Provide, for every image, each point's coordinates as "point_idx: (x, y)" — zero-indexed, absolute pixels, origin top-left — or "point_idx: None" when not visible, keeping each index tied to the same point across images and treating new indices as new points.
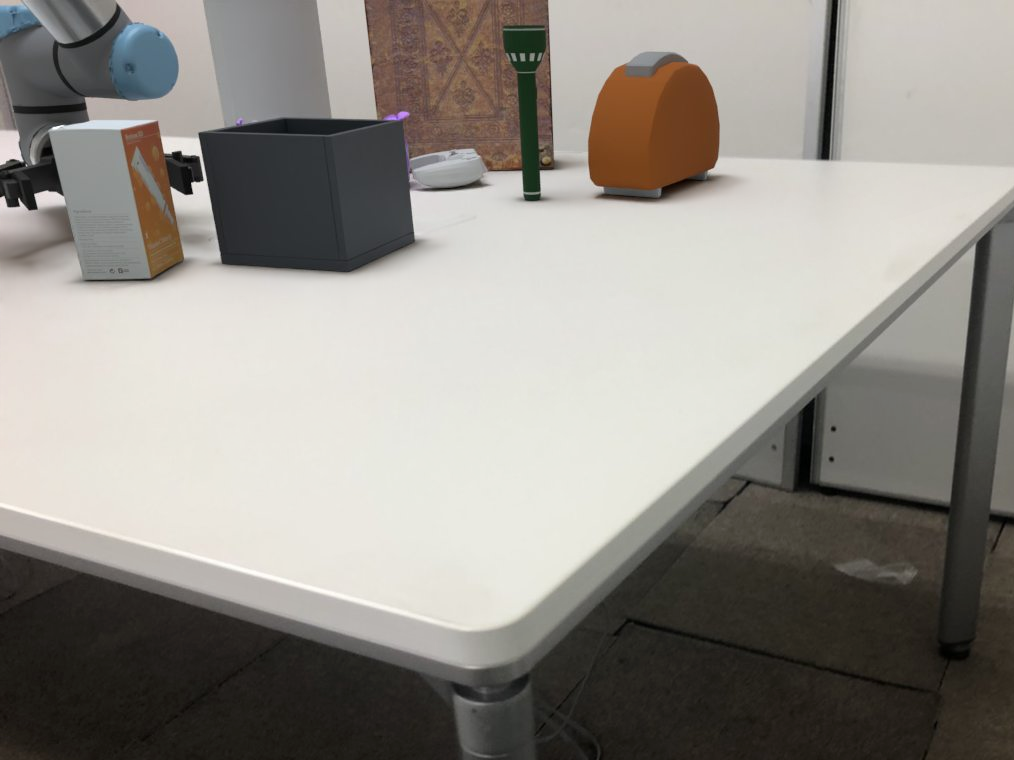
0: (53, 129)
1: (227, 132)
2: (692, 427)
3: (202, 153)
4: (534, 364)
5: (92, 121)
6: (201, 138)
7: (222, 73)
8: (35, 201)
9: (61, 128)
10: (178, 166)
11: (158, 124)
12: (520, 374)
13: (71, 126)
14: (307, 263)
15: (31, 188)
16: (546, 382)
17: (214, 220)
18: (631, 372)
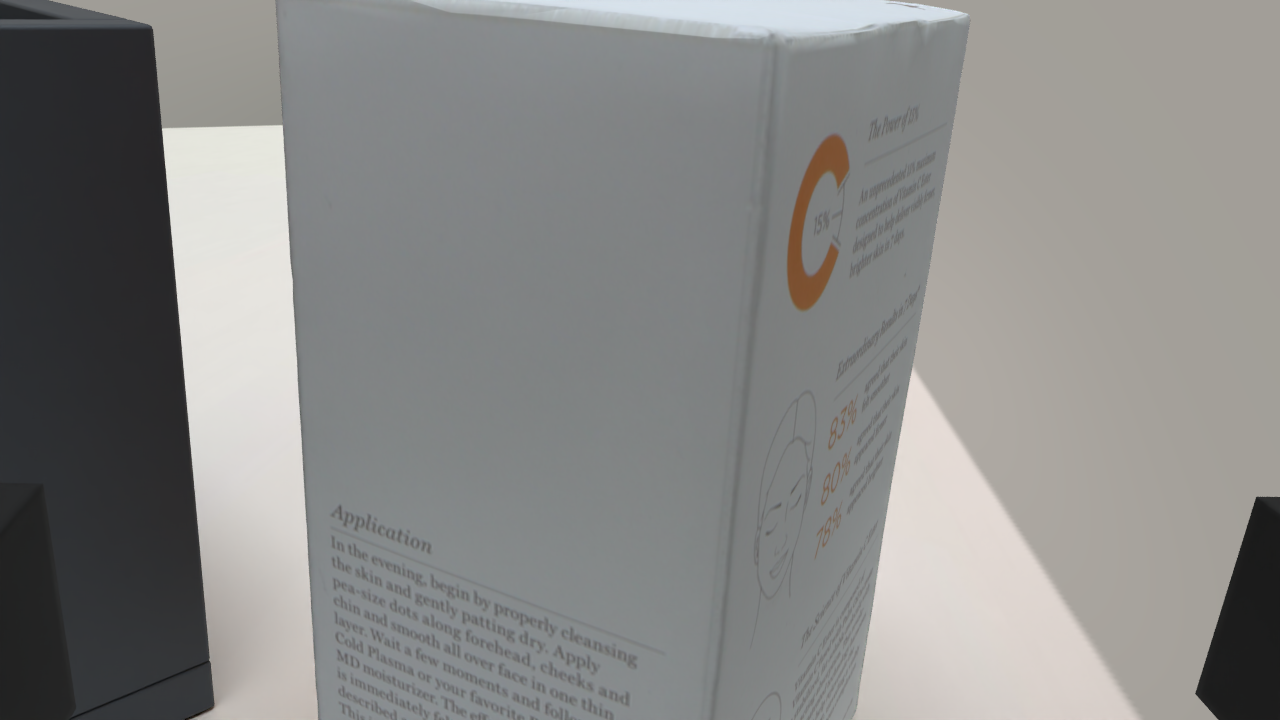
0: (945, 9)
1: (45, 7)
2: (268, 131)
3: (161, 152)
4: (242, 180)
5: (762, 19)
6: (147, 60)
7: None
8: (1212, 638)
9: (906, 5)
10: (16, 519)
11: (277, 15)
12: (281, 177)
13: (870, 7)
14: None
15: (1244, 556)
16: (278, 168)
17: (194, 509)
18: (184, 158)
